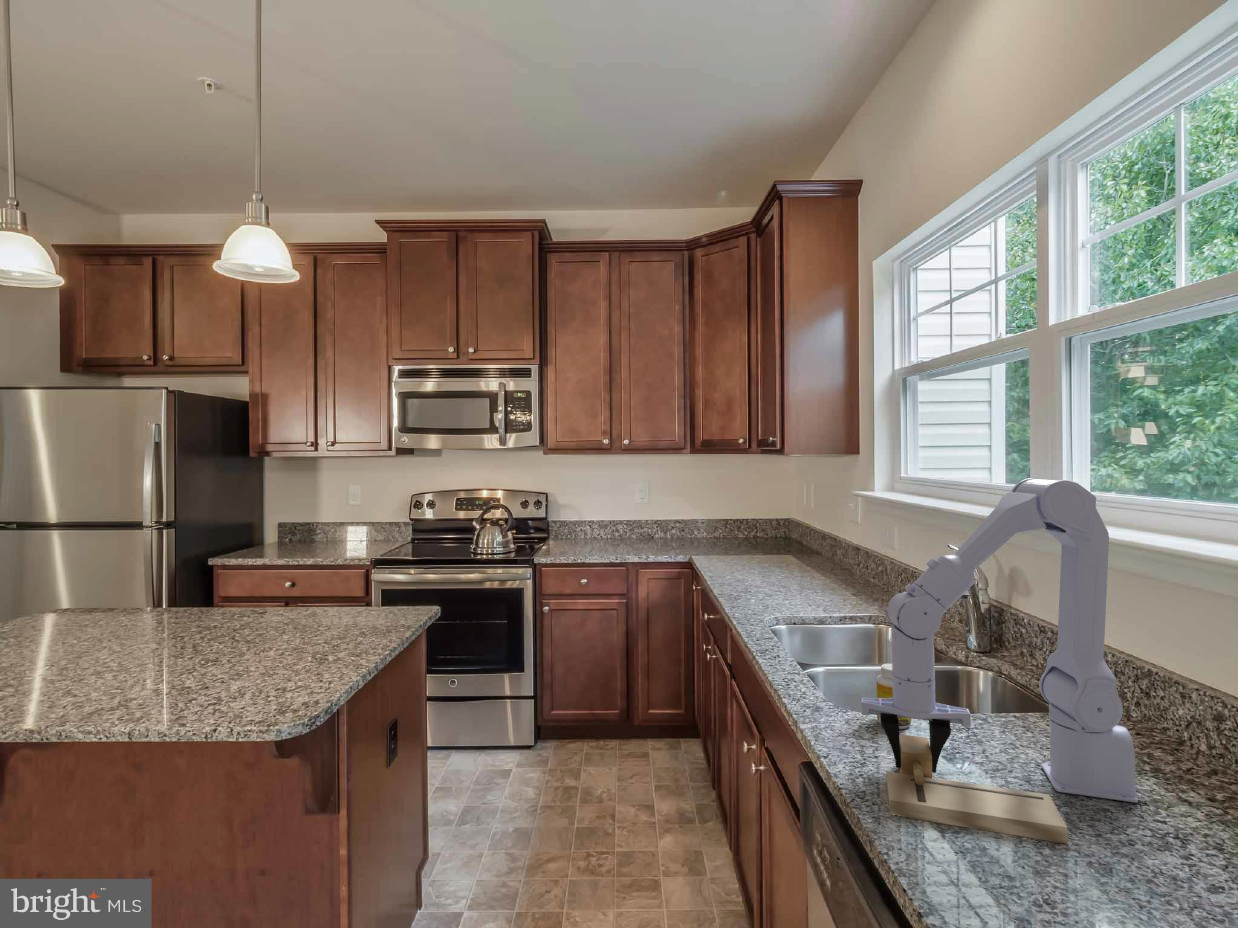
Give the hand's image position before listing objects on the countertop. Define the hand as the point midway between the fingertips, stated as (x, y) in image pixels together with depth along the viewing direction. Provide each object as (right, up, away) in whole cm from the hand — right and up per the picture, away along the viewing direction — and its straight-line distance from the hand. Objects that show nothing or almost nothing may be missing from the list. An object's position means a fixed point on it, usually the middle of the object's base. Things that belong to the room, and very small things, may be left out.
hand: (915, 767), depth 94 cm
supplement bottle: (+5, -2, +19) cm, 20 cm away
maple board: (+3, -2, -9) cm, 10 cm away
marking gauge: (-1, -2, -2) cm, 3 cm away
